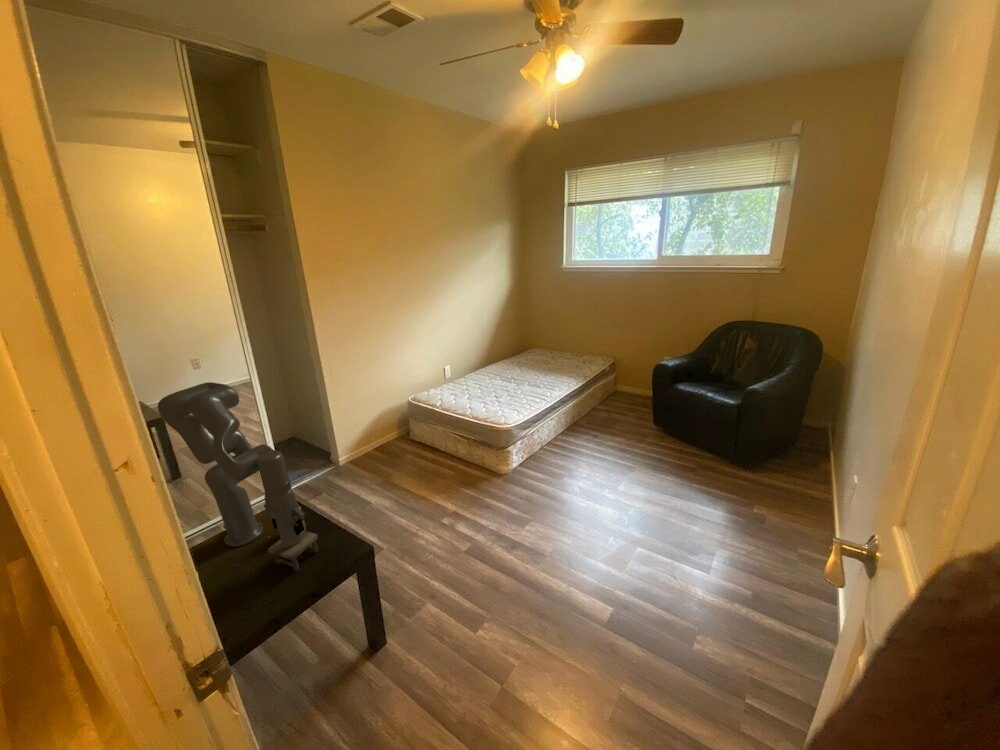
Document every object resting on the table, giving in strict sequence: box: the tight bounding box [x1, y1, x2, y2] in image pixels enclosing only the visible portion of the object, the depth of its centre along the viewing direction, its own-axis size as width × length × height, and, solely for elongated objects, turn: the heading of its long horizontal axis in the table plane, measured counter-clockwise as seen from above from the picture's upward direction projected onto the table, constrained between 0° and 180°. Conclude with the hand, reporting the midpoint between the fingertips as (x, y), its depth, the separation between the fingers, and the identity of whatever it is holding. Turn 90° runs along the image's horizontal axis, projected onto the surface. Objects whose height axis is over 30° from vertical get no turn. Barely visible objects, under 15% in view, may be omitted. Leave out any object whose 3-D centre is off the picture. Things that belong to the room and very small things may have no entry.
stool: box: [267, 530, 319, 572], centre depth 140 cm, size 11×11×7 cm
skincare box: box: [275, 514, 302, 549], centre depth 137 cm, size 6×4×12 cm
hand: (289, 529), depth 137 cm, fingers open, 9 cm apart
